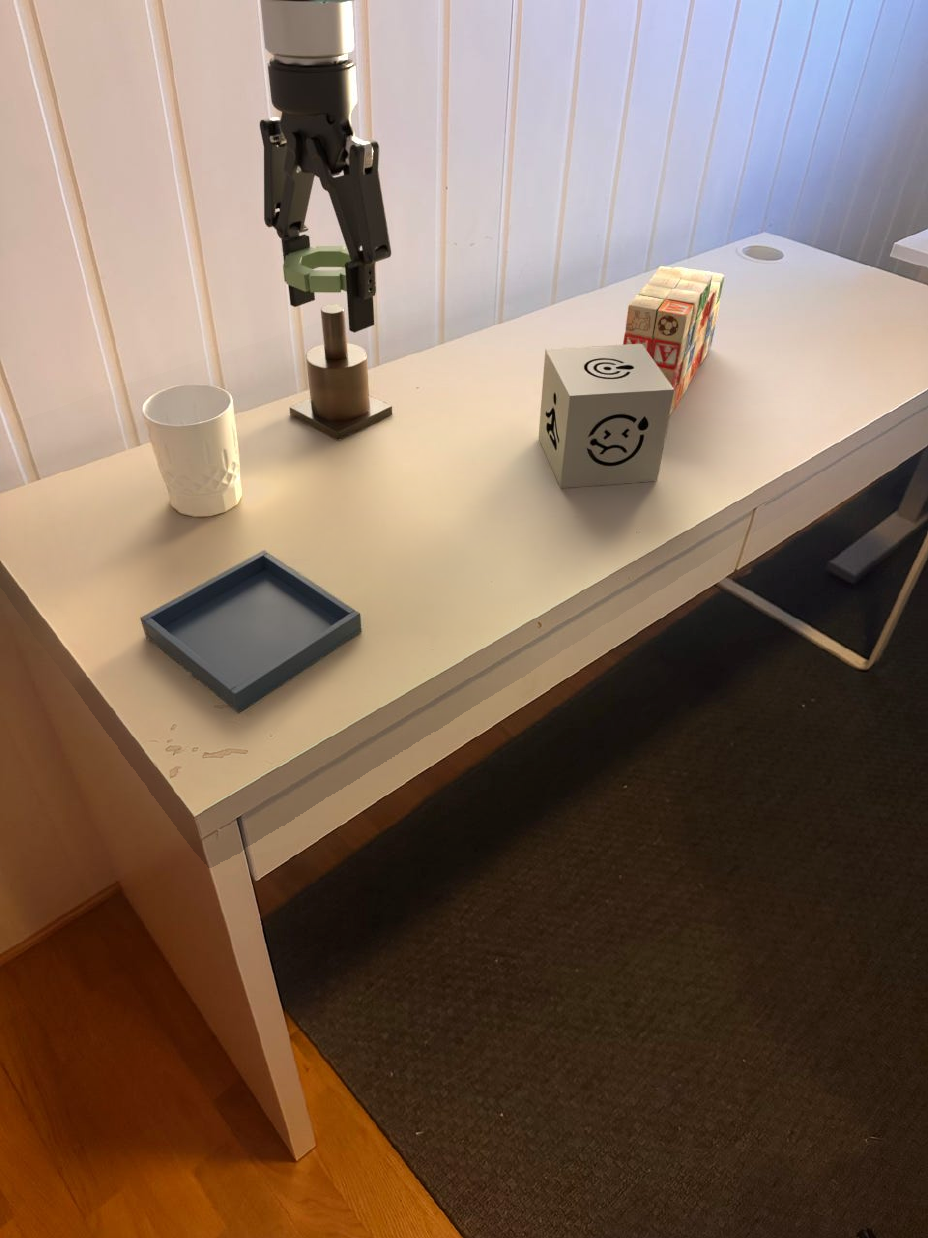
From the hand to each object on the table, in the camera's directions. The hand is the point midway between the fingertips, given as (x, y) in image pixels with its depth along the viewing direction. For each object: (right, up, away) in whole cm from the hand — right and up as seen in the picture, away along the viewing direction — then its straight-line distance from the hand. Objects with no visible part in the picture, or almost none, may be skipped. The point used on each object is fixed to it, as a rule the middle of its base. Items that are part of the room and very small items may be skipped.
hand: (331, 314), depth 91 cm
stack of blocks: (+38, -2, +16) cm, 41 cm away
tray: (-3, -32, -20) cm, 38 cm away
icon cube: (+27, -15, +2) cm, 31 cm away
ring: (0, +3, -2) cm, 4 cm away
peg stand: (0, -8, +8) cm, 11 cm away
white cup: (-11, -20, -5) cm, 23 cm away
